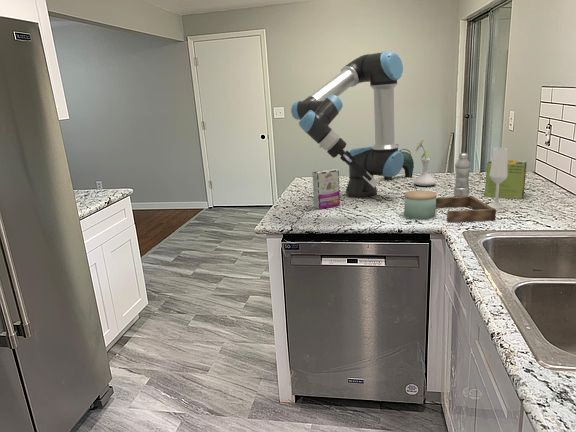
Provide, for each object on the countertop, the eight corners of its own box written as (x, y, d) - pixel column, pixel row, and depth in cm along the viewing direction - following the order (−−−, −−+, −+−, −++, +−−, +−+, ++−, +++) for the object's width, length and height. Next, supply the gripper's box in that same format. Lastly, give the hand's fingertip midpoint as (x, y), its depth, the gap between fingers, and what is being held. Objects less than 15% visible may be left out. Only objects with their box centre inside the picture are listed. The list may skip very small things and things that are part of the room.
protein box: (522, 199, 192) (525, 164, 188) (484, 196, 200) (486, 162, 196) (524, 194, 201) (527, 160, 197) (487, 192, 209) (490, 159, 205)
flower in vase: (420, 182, 238) (421, 135, 232) (440, 184, 230) (442, 136, 224) (407, 186, 229) (408, 138, 223) (427, 188, 221) (429, 138, 215)
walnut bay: (448, 222, 165) (448, 211, 164) (430, 207, 187) (430, 198, 186) (495, 220, 164) (496, 209, 163) (471, 205, 186) (472, 196, 185)
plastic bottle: (470, 198, 197) (473, 154, 192) (454, 198, 199) (456, 154, 194) (467, 195, 204) (470, 152, 198) (452, 195, 205) (454, 152, 200)
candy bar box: (334, 203, 201) (333, 168, 197) (340, 205, 197) (339, 169, 193) (313, 207, 196) (311, 171, 192) (319, 209, 192) (317, 172, 188)
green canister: (399, 217, 175) (399, 195, 173) (410, 209, 184) (411, 189, 182) (429, 221, 168) (430, 198, 166) (439, 213, 177) (440, 192, 175)
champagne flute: (483, 205, 185) (487, 148, 178) (495, 203, 187) (499, 147, 181) (496, 209, 179) (501, 150, 172) (508, 206, 181) (513, 148, 175)
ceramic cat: (386, 181, 245) (386, 145, 240) (379, 179, 251) (379, 144, 245) (415, 177, 252) (416, 142, 247) (407, 175, 258) (408, 141, 253)
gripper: (325, 149, 176) (366, 188, 180) (327, 153, 164) (372, 195, 167) (338, 135, 175) (380, 175, 178) (341, 138, 162) (386, 181, 166)
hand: (376, 184), depth 173 cm, fingers closed
